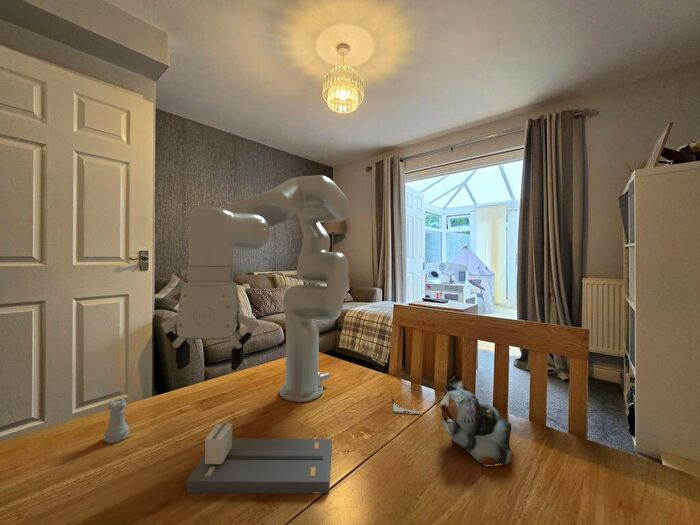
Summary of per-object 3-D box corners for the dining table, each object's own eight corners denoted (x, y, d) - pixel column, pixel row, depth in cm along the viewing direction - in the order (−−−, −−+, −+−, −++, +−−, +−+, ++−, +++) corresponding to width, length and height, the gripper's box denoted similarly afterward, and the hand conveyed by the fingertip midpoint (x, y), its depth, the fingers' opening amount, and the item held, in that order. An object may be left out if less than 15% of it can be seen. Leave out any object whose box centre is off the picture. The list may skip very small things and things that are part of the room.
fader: (204, 463, 54) (205, 438, 54) (216, 446, 59) (216, 422, 59) (221, 464, 54) (222, 438, 54) (232, 446, 59) (232, 422, 59)
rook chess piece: (115, 445, 63) (115, 407, 63) (98, 442, 64) (98, 404, 63) (134, 433, 67) (135, 397, 67) (118, 430, 68) (118, 395, 68)
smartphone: (415, 389, 92) (421, 414, 77) (415, 391, 92) (421, 416, 77) (391, 387, 93) (392, 411, 78) (390, 389, 93) (392, 414, 78)
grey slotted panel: (186, 492, 51) (186, 480, 51) (216, 447, 63) (216, 437, 63) (329, 493, 51) (329, 481, 51) (331, 448, 63) (331, 438, 63)
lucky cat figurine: (510, 479, 55) (474, 412, 55) (450, 475, 63) (419, 416, 63) (518, 421, 67) (489, 366, 67) (467, 423, 75) (441, 374, 74)
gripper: (151, 275, 52) (149, 374, 52) (252, 277, 52) (250, 375, 53) (175, 273, 59) (173, 359, 60) (263, 275, 60) (262, 360, 60)
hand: (210, 367), depth 56 cm, fingers open, 9 cm apart
